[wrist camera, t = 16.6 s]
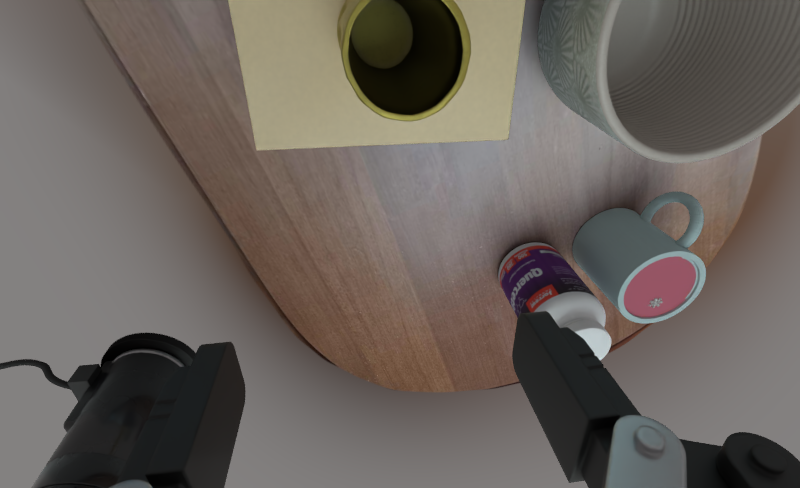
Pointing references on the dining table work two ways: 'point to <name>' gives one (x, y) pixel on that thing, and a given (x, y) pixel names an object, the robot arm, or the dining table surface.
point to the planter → (674, 70)
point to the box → (332, 92)
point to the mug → (642, 260)
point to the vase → (404, 54)
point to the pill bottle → (553, 293)
